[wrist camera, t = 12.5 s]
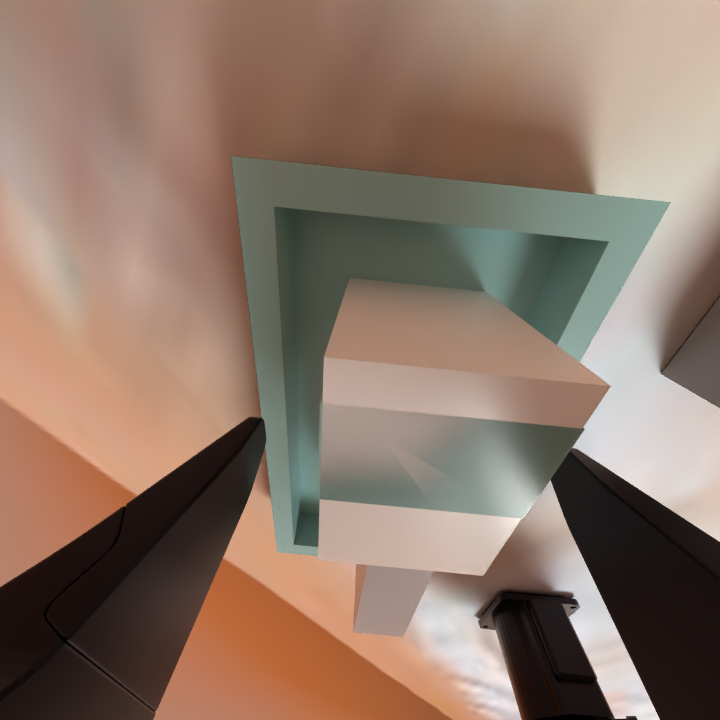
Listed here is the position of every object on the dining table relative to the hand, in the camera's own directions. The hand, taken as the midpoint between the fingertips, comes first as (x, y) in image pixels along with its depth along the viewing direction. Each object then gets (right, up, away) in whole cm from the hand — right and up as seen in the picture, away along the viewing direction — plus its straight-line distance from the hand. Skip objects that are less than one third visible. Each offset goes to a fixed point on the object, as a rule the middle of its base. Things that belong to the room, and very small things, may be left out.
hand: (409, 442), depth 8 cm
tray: (0, 0, +5) cm, 5 cm away
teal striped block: (0, 0, +5) cm, 5 cm away
